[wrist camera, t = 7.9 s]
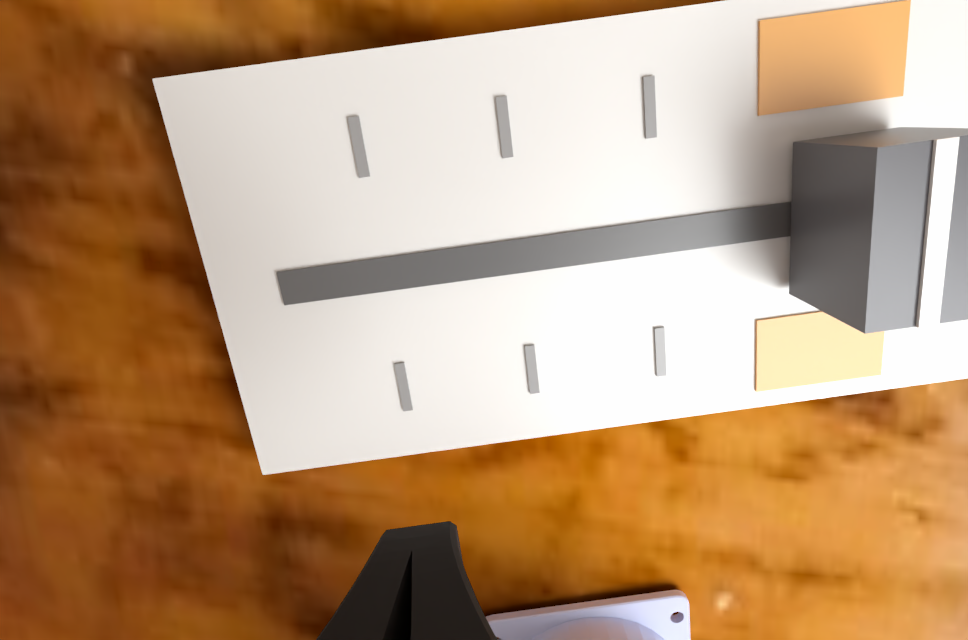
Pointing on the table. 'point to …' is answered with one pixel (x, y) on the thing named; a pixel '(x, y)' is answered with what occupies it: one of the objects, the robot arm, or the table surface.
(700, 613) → the table surface
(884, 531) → the table surface
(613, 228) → the panel
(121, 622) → the table surface
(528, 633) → the robot arm
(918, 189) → the fader
